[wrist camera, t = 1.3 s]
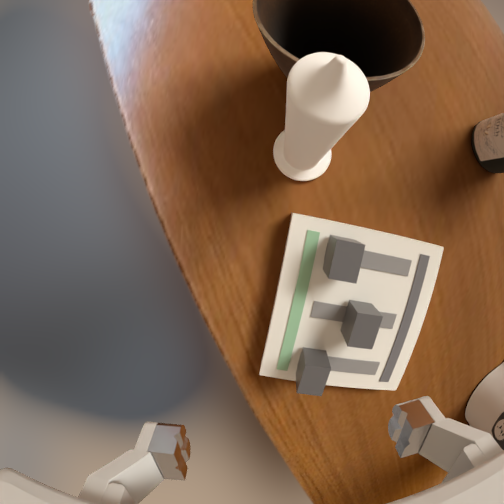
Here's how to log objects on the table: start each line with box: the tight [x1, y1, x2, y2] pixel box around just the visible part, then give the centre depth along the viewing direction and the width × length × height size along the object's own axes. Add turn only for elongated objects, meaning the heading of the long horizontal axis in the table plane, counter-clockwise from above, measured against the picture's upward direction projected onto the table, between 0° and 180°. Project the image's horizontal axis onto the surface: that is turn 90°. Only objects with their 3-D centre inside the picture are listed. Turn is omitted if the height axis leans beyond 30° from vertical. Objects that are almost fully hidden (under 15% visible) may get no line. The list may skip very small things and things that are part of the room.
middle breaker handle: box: [340, 300, 383, 349], centre depth 31 cm, size 3×4×4 cm
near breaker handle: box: [323, 235, 365, 284], centre depth 30 cm, size 3×4×4 cm
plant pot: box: [253, 0, 425, 92], centre depth 25 cm, size 15×15×16 cm
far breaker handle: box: [296, 347, 331, 396], centre depth 33 cm, size 3×4×4 cm
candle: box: [273, 52, 370, 181], centre depth 22 cm, size 7×7×25 cm
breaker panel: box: [259, 213, 444, 390], centre depth 35 cm, size 20×21×3 cm
